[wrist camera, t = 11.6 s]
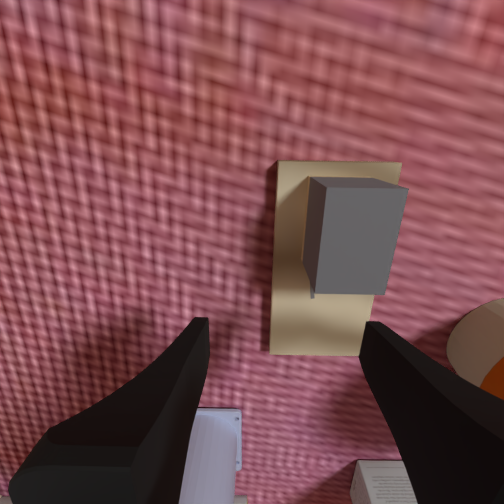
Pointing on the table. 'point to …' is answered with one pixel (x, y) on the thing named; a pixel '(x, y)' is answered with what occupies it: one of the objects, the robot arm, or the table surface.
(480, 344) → the reusable coffee cup
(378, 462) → the small box
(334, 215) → the block
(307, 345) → the pine board
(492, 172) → the table surface
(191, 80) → the table surface
